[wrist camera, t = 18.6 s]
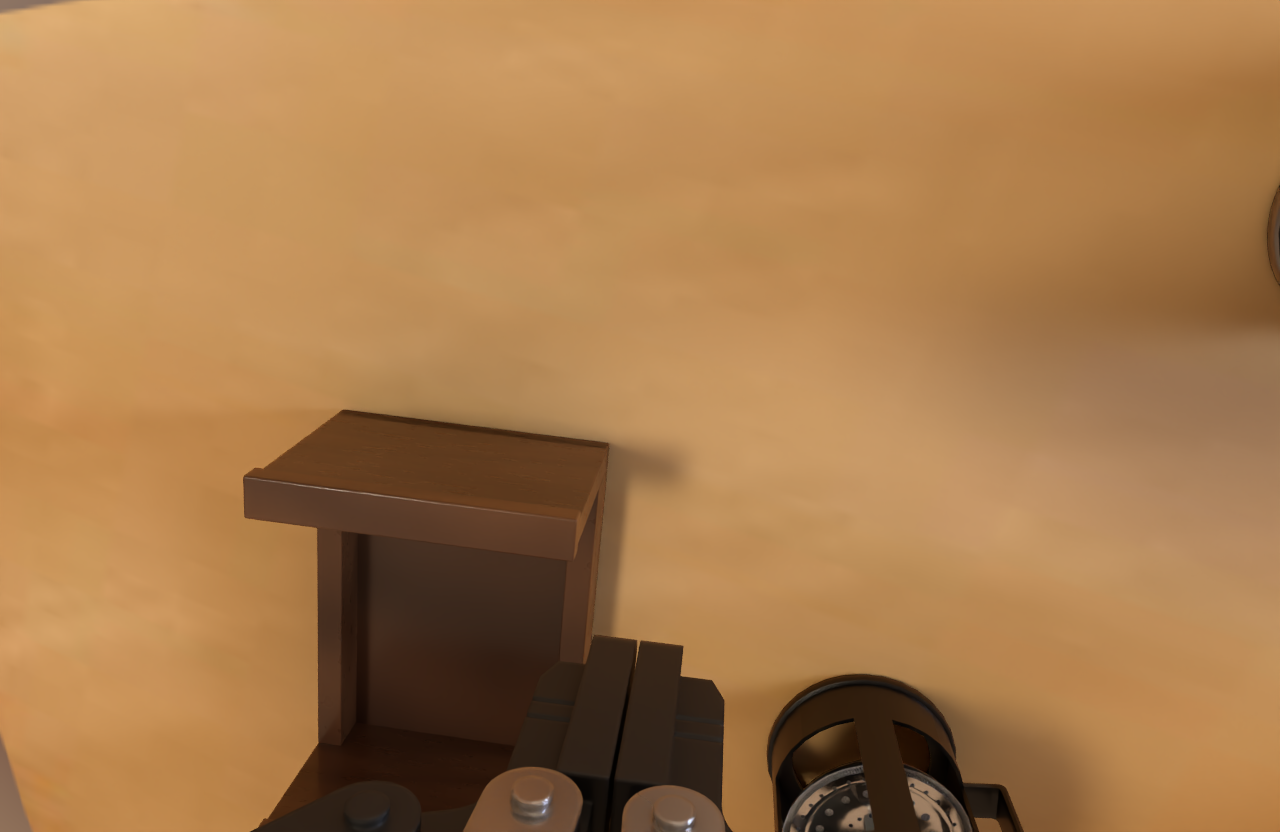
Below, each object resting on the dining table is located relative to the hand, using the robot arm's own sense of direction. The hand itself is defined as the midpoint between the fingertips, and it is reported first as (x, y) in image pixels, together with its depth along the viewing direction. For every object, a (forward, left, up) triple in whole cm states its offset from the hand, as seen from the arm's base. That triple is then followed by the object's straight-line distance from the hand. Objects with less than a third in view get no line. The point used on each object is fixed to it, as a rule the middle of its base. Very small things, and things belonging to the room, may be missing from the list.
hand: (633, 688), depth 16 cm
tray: (+18, -1, -29) cm, 34 cm away
